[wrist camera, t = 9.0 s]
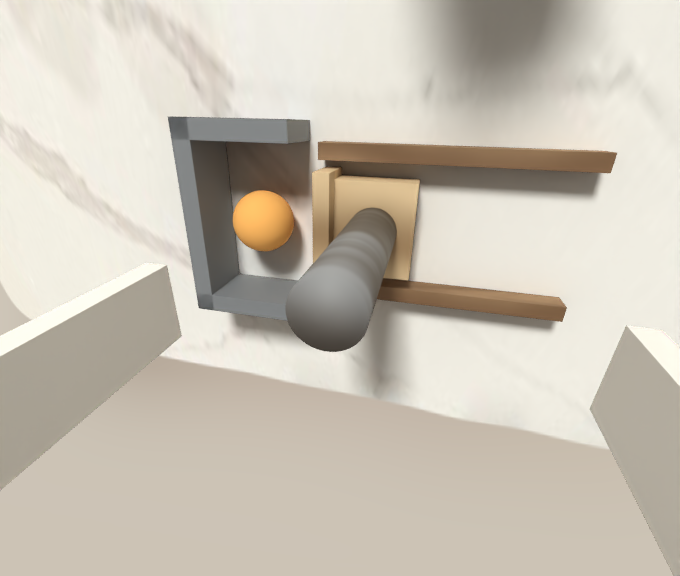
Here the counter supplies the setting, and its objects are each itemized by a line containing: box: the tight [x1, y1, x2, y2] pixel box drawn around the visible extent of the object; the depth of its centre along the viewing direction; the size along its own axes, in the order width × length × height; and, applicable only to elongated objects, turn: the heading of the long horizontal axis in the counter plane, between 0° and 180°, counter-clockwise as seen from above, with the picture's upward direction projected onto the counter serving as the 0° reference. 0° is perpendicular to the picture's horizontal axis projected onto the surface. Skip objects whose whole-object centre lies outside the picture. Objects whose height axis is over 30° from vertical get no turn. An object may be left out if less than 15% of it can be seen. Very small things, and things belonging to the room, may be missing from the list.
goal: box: [168, 117, 310, 321], centre depth 24 cm, size 12×7×4 cm, turn 178°
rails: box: [318, 141, 617, 322], centre depth 23 cm, size 10×16×2 cm, turn 88°
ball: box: [233, 190, 294, 251], centre depth 24 cm, size 4×4×4 cm
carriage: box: [285, 167, 420, 352], centre depth 18 cm, size 7×6×13 cm
